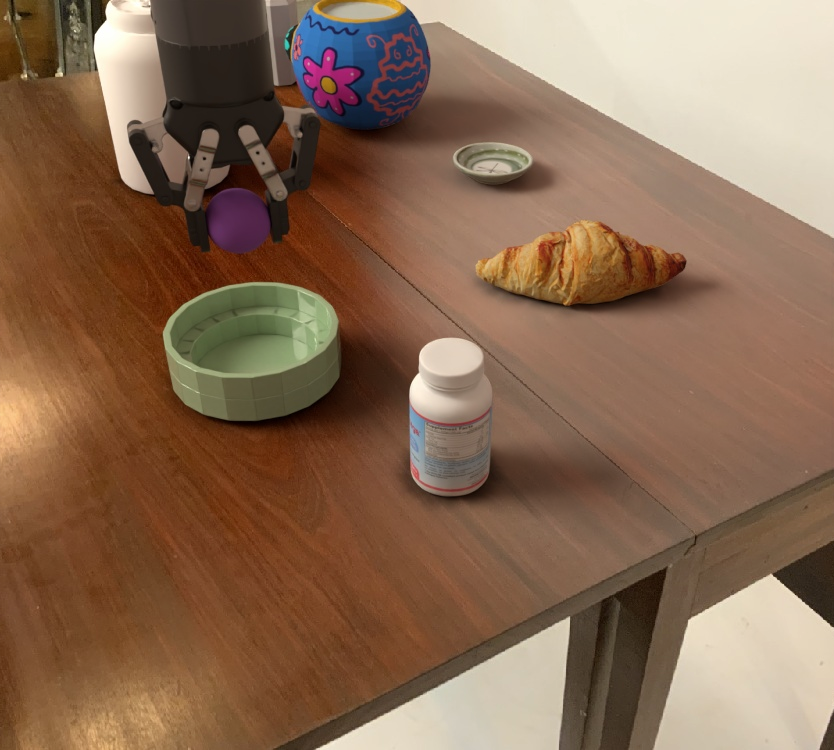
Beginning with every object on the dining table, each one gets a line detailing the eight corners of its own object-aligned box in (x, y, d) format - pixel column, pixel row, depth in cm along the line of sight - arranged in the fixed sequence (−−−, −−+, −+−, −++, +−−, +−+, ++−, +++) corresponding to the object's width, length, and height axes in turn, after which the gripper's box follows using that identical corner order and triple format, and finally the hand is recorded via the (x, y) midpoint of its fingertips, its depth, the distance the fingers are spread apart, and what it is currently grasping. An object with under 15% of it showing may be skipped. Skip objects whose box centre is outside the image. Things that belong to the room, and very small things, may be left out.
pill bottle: (419, 443, 78) (417, 326, 71) (494, 452, 77) (500, 336, 71) (402, 495, 73) (399, 375, 66) (482, 505, 73) (487, 385, 66)
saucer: (534, 162, 122) (536, 144, 120) (529, 196, 114) (530, 177, 112) (458, 156, 122) (458, 137, 121) (447, 190, 114) (447, 171, 113)
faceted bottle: (304, 72, 143) (292, -90, 130) (300, 88, 138) (286, -79, 125) (261, 71, 143) (243, -91, 130) (255, 87, 138) (236, -81, 125)
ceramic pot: (372, 87, 139) (367, -22, 130) (457, 125, 130) (459, 10, 121) (270, 118, 129) (258, 2, 120) (355, 161, 120) (348, 38, 111)
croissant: (477, 329, 97) (481, 289, 90) (470, 244, 101) (473, 199, 94) (684, 321, 99) (704, 280, 92) (669, 237, 103) (687, 193, 96)
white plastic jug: (228, 148, 121) (205, -19, 109) (234, 193, 111) (210, 15, 99) (122, 156, 118) (87, -15, 106) (119, 203, 108) (80, 20, 96)
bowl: (181, 441, 77) (171, 391, 74) (166, 342, 87) (156, 295, 84) (357, 408, 81) (355, 359, 78) (322, 318, 92) (319, 272, 89)
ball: (213, 269, 74) (203, 210, 71) (205, 238, 78) (196, 181, 75) (279, 260, 76) (272, 202, 73) (268, 230, 79) (261, 173, 76)
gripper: (102, 49, 61) (149, 280, 72) (327, 33, 66) (341, 253, 76) (98, 13, 67) (142, 232, 77) (305, 1, 71) (321, 210, 81)
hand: (241, 242), depth 76 cm, fingers closed on ball, 5 cm apart
